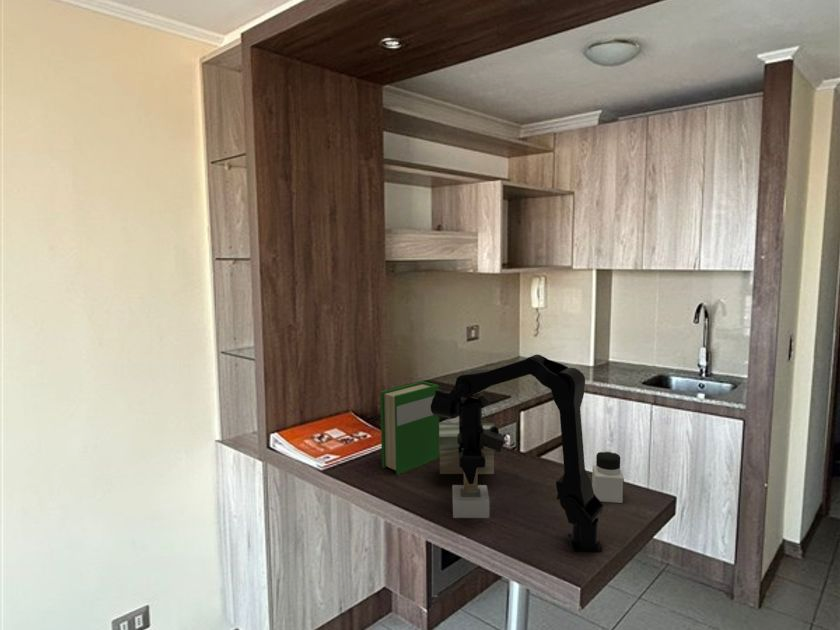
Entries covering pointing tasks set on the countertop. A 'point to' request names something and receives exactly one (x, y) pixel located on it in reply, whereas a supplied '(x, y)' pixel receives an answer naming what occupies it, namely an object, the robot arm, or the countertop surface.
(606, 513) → the countertop surface
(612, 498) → the medicine bottle
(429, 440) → the hardback book
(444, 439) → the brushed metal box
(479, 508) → the socket block
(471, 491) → the peg
